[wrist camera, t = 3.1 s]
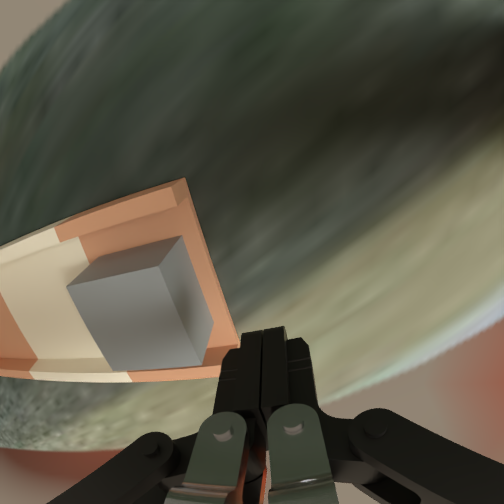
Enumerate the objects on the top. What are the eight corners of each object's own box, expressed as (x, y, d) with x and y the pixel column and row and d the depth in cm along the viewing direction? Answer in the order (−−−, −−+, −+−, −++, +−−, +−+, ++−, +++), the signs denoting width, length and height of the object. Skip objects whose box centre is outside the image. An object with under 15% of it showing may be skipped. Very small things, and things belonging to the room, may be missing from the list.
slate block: (182, 235, 17) (158, 265, 14) (213, 322, 20) (201, 365, 16) (98, 256, 18) (65, 286, 15) (134, 333, 20) (112, 370, 17)
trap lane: (185, 177, 17) (170, 186, 14) (242, 349, 21) (239, 374, 19) (-47, 269, 21) (-61, 280, 19) (3, 361, 26) (-8, 374, 23)
